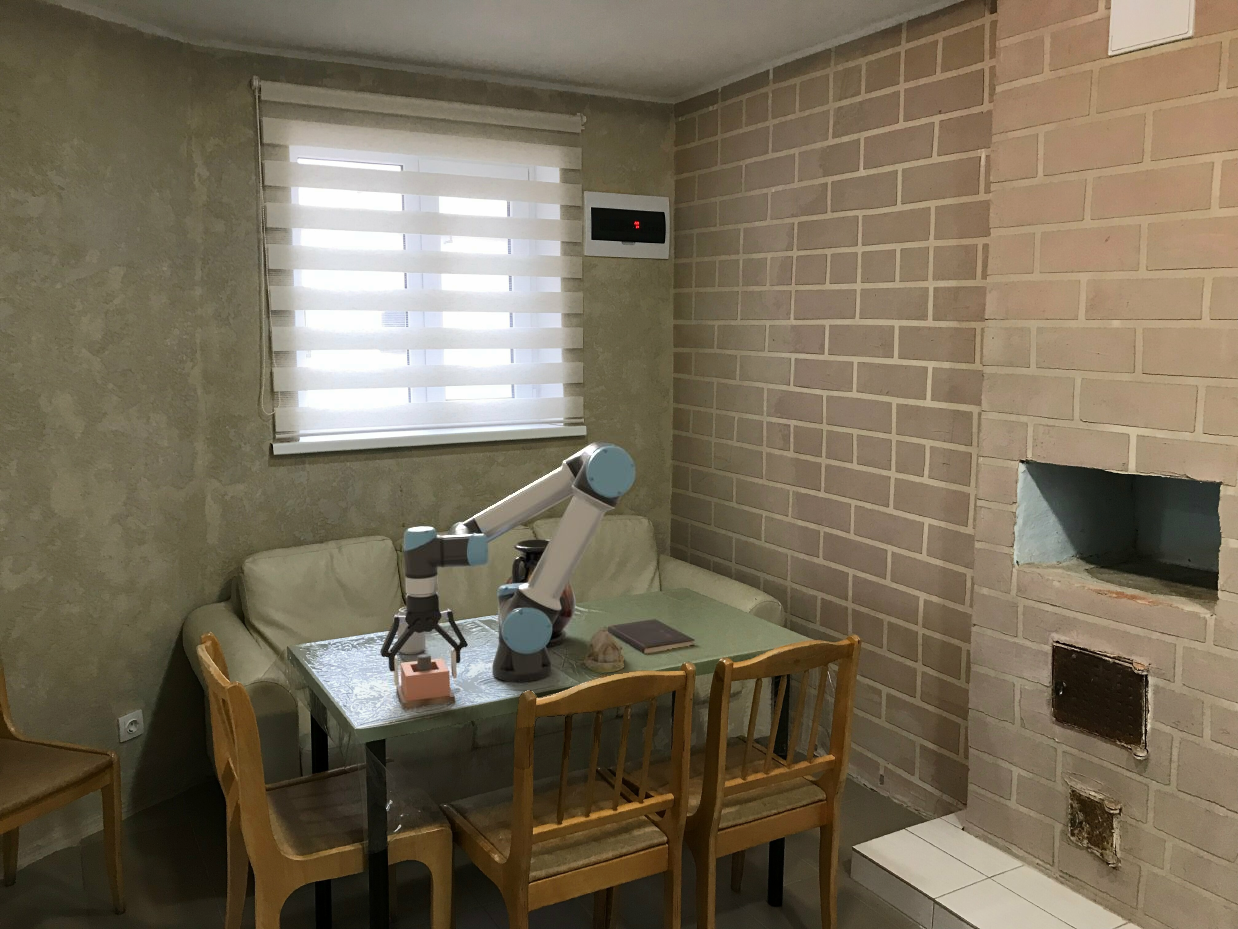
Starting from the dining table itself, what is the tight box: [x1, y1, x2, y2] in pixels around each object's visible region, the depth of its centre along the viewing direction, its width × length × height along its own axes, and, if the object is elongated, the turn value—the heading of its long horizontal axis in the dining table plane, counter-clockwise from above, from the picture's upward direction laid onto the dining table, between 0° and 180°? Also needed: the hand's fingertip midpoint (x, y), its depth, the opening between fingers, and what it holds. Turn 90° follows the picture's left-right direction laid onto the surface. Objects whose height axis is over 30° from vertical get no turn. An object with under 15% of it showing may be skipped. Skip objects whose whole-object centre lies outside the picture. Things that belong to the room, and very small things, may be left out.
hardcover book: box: [607, 618, 696, 655], centre depth 276 cm, size 16×23×2 cm
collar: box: [400, 657, 451, 701], centre depth 231 cm, size 10×10×6 cm
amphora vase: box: [503, 539, 576, 648], centre depth 274 cm, size 22×22×28 cm
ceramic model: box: [583, 626, 625, 674], centre depth 254 cm, size 14×11×10 cm
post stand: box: [395, 654, 456, 710], centre depth 231 cm, size 12×12×10 cm
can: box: [396, 606, 427, 655], centre depth 266 cm, size 8×8×12 cm
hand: (425, 680), depth 231 cm, fingers open, 13 cm apart
